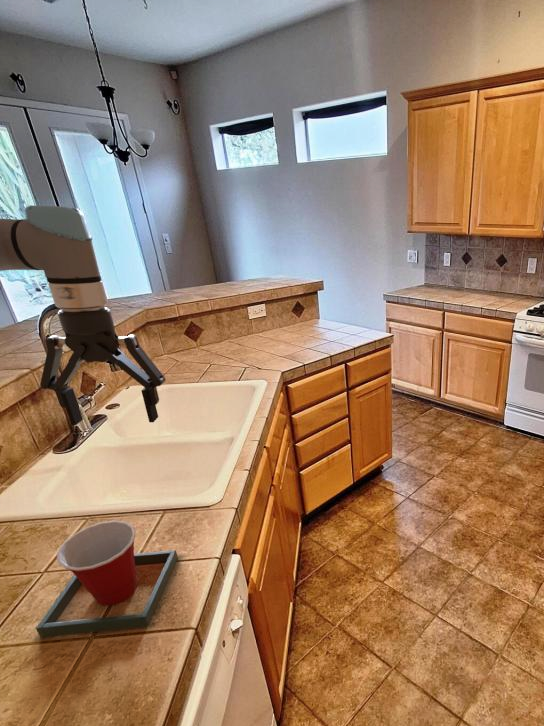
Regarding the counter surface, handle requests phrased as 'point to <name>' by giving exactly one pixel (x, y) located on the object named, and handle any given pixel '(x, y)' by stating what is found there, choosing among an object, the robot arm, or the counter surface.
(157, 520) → the counter surface
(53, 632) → the grey square frame
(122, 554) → the plastic cup
